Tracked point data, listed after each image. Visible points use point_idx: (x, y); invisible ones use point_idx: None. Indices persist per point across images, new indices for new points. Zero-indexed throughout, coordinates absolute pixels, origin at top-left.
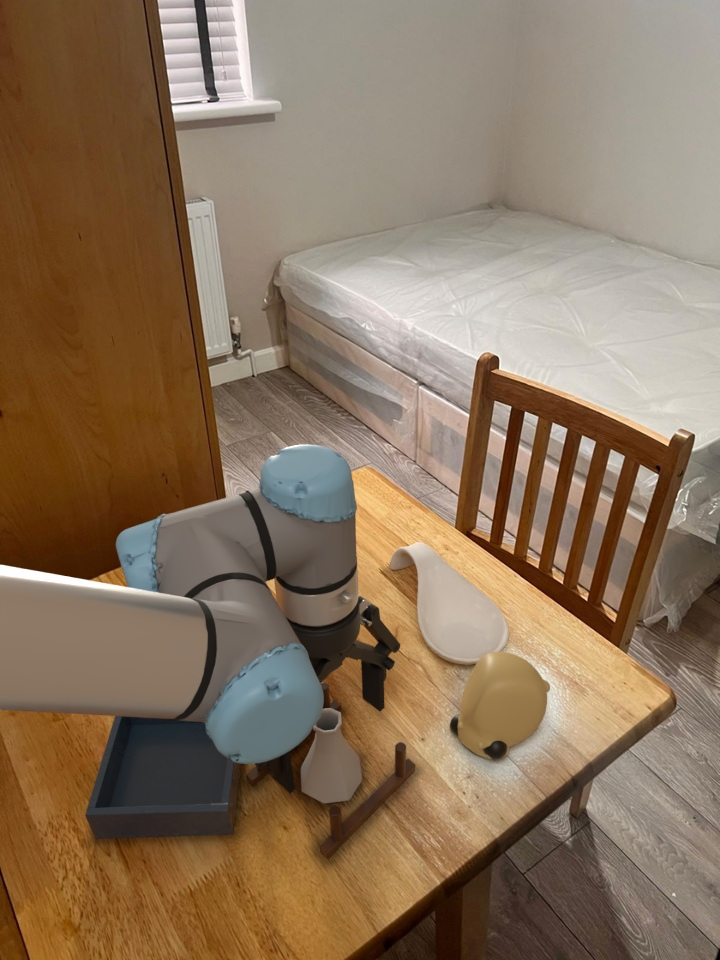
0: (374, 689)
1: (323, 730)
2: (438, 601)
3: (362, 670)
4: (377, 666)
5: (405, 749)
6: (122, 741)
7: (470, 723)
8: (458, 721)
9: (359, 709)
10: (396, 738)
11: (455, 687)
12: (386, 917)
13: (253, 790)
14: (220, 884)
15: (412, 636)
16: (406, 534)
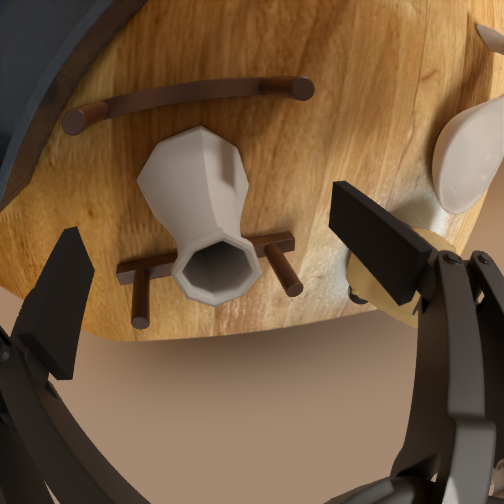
0: (362, 246)
1: (190, 291)
2: (485, 116)
3: (394, 234)
4: (415, 287)
5: (295, 296)
6: None
7: (374, 288)
8: None
9: (314, 113)
10: (311, 191)
11: (405, 186)
12: (150, 337)
13: None
14: (6, 234)
15: (436, 95)
16: (498, 23)
